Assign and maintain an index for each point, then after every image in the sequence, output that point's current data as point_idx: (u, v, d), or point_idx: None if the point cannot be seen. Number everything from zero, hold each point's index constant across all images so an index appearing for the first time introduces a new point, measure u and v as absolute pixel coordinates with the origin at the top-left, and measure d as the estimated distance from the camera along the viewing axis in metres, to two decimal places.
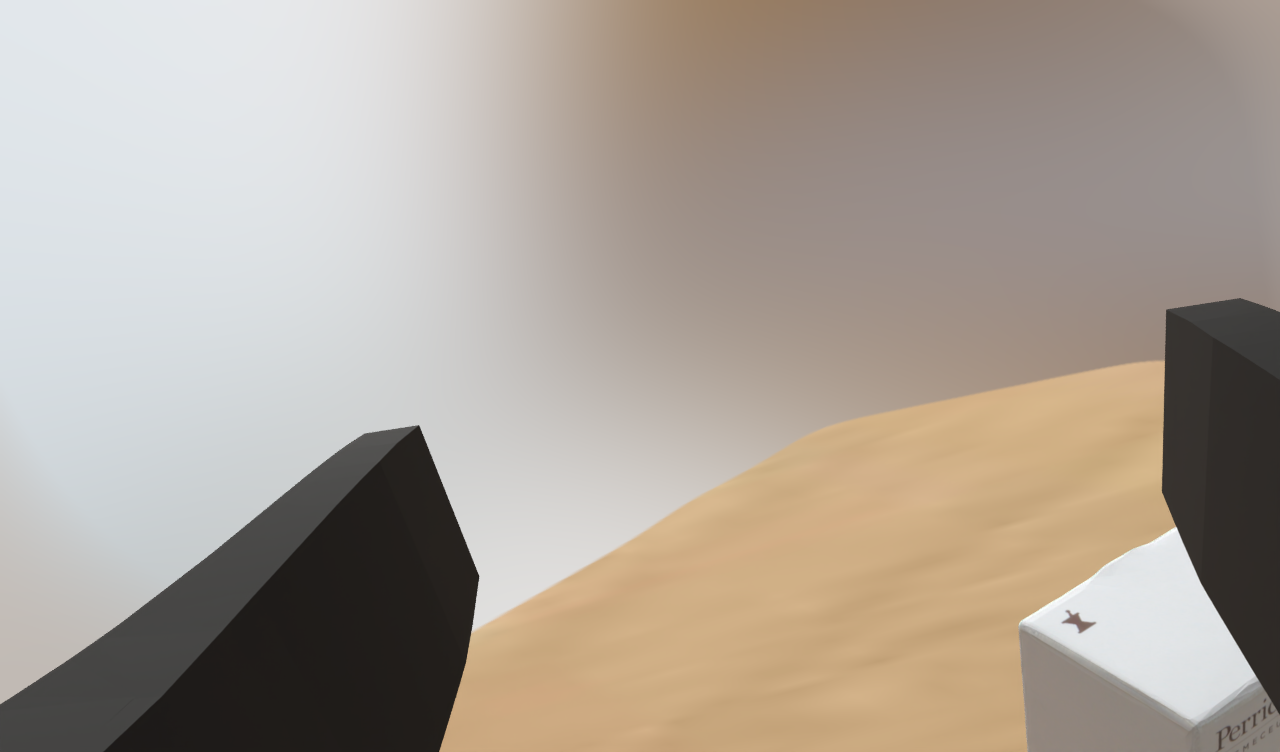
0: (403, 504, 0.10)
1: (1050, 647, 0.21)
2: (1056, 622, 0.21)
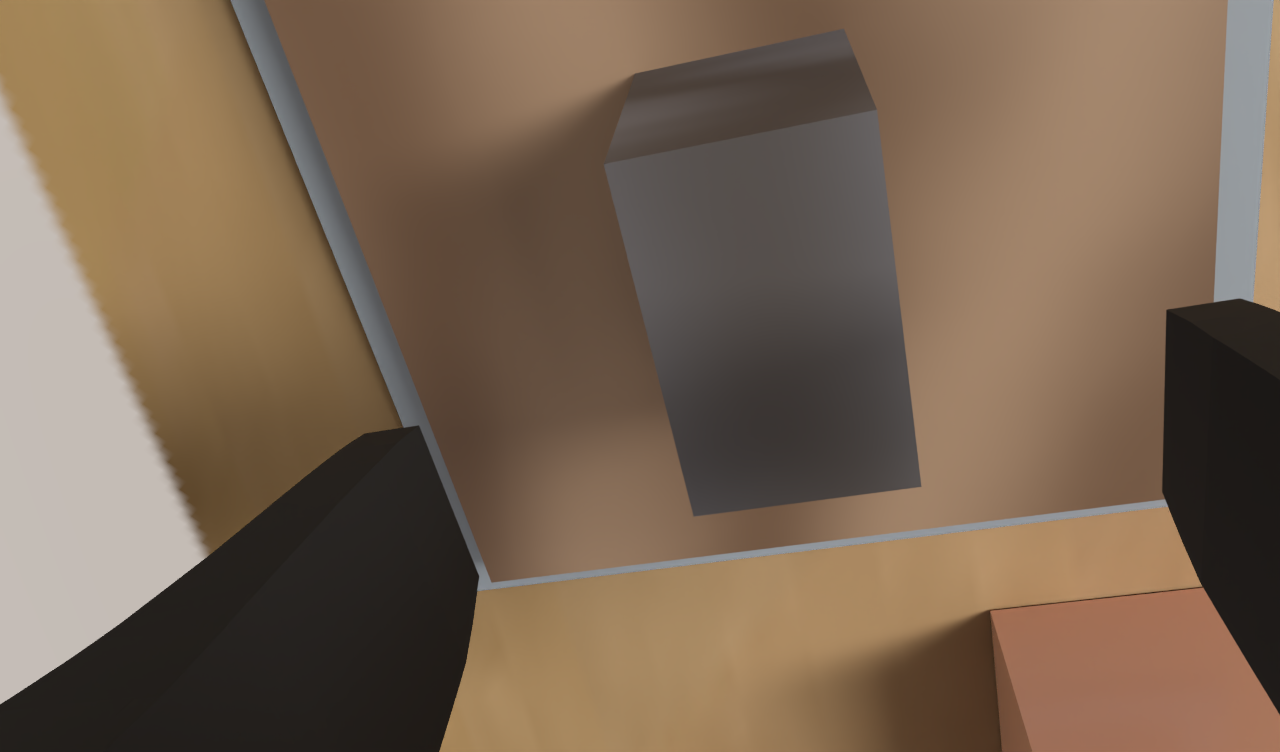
0: (403, 504, 0.10)
1: None
2: None
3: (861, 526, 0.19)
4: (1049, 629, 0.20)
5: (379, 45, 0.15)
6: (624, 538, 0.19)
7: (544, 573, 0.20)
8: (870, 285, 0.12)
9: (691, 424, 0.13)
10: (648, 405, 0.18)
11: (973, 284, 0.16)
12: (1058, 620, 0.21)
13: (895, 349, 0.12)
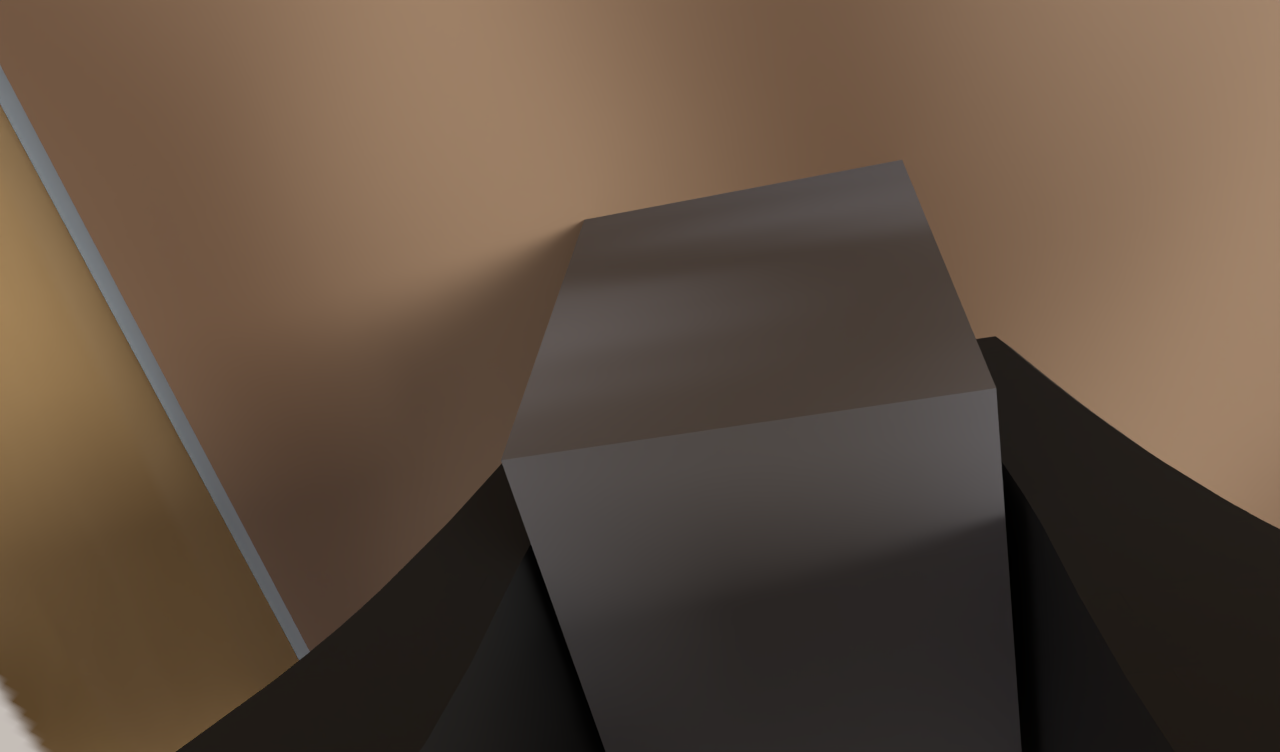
0: None
1: None
2: None
3: None
4: None
5: (202, 176, 0.10)
6: None
7: None
8: (966, 647, 0.07)
9: None
10: None
11: None
12: None
13: (1004, 737, 0.07)
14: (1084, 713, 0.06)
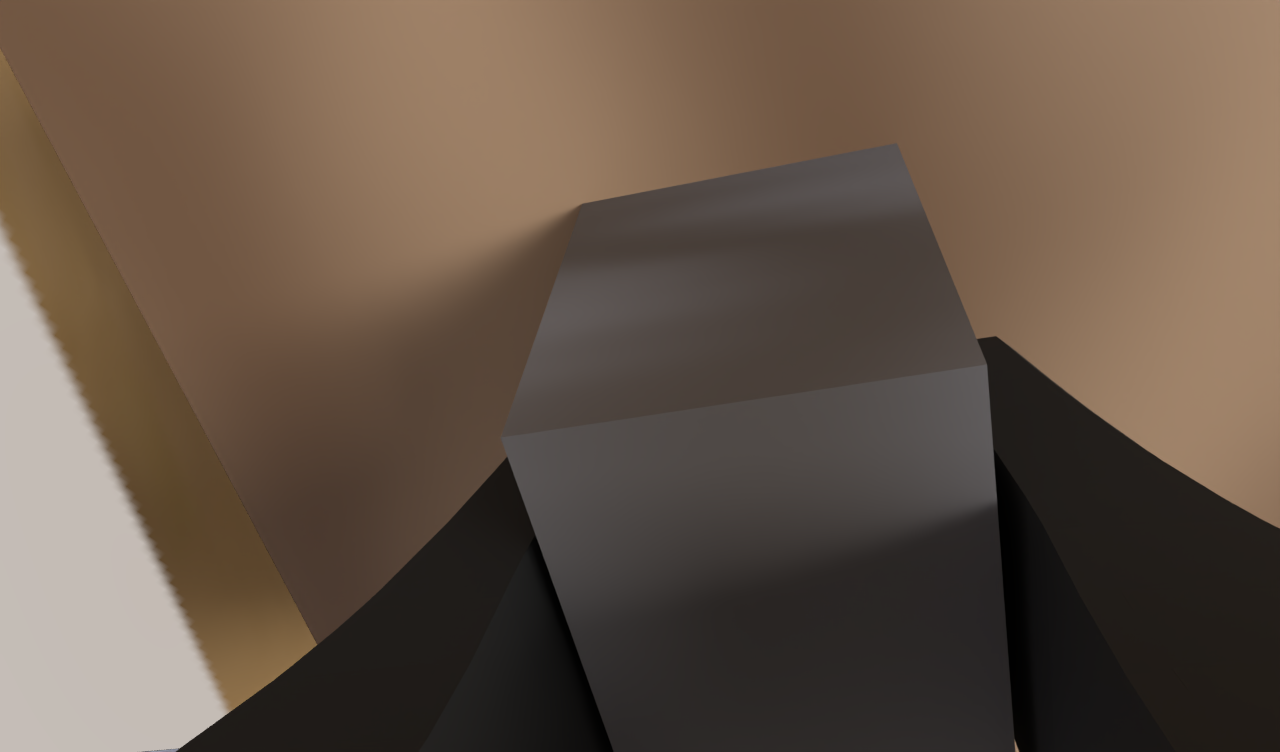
0: None
1: None
2: None
3: None
4: None
5: (202, 161, 0.10)
6: None
7: None
8: (958, 622, 0.07)
9: None
10: None
11: None
12: None
13: (995, 710, 0.07)
14: (1084, 713, 0.06)
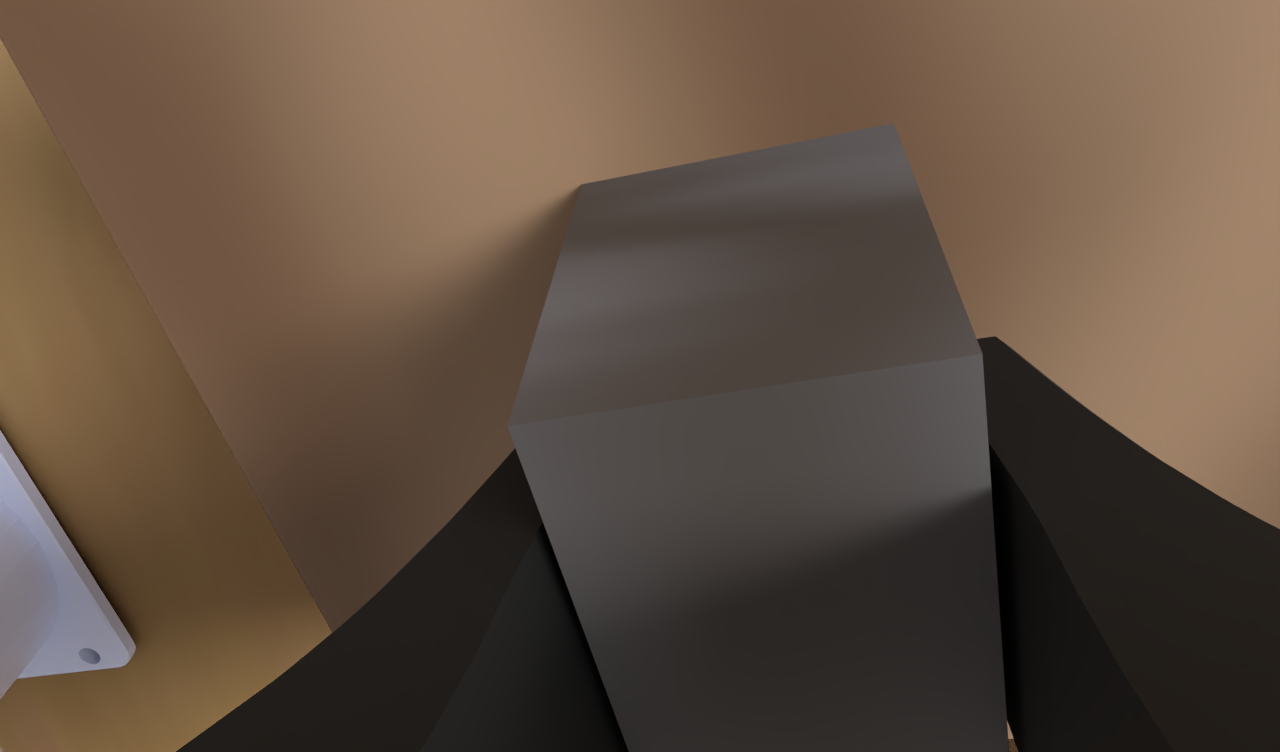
0: None
1: None
2: None
3: None
4: None
5: (202, 143, 0.10)
6: None
7: None
8: (952, 599, 0.07)
9: None
10: None
11: None
12: None
13: (988, 682, 0.08)
14: (1084, 713, 0.06)
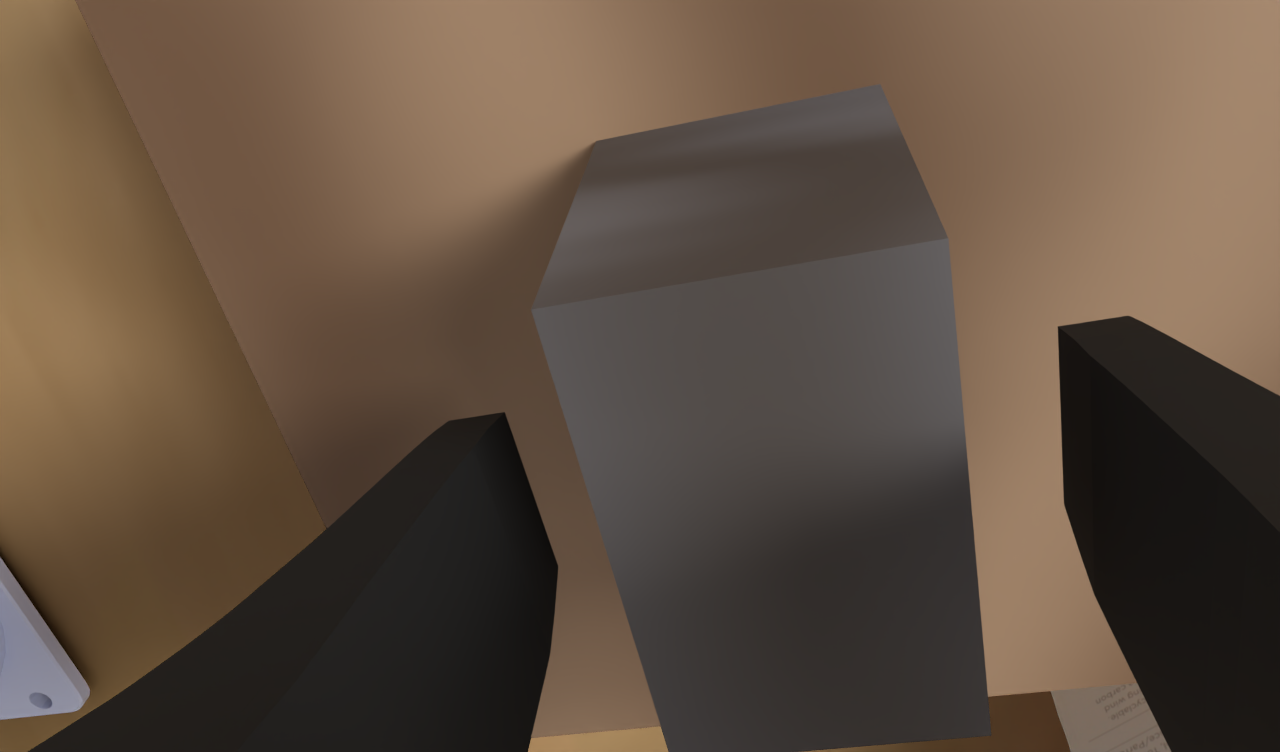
0: (494, 491, 0.09)
1: None
2: None
3: None
4: None
5: (253, 102, 0.11)
6: (593, 701, 0.15)
7: None
8: (928, 481, 0.08)
9: (667, 652, 0.09)
10: None
11: (1044, 412, 0.12)
12: None
13: (962, 565, 0.08)
14: None
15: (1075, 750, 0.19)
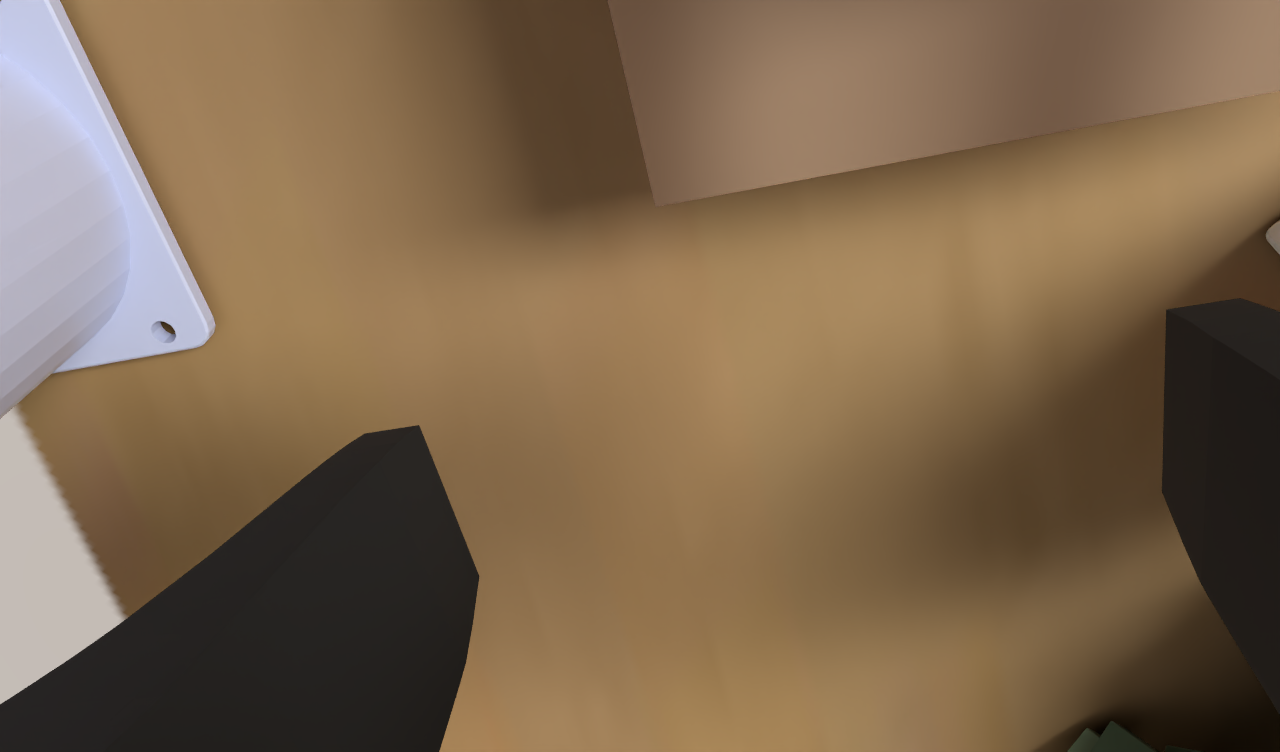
0: (403, 504, 0.10)
1: None
2: None
3: (1196, 90, 0.13)
4: None
5: None
6: (850, 124, 0.14)
7: (729, 191, 0.14)
8: None
9: None
10: None
11: None
12: None
13: None
14: None
15: None
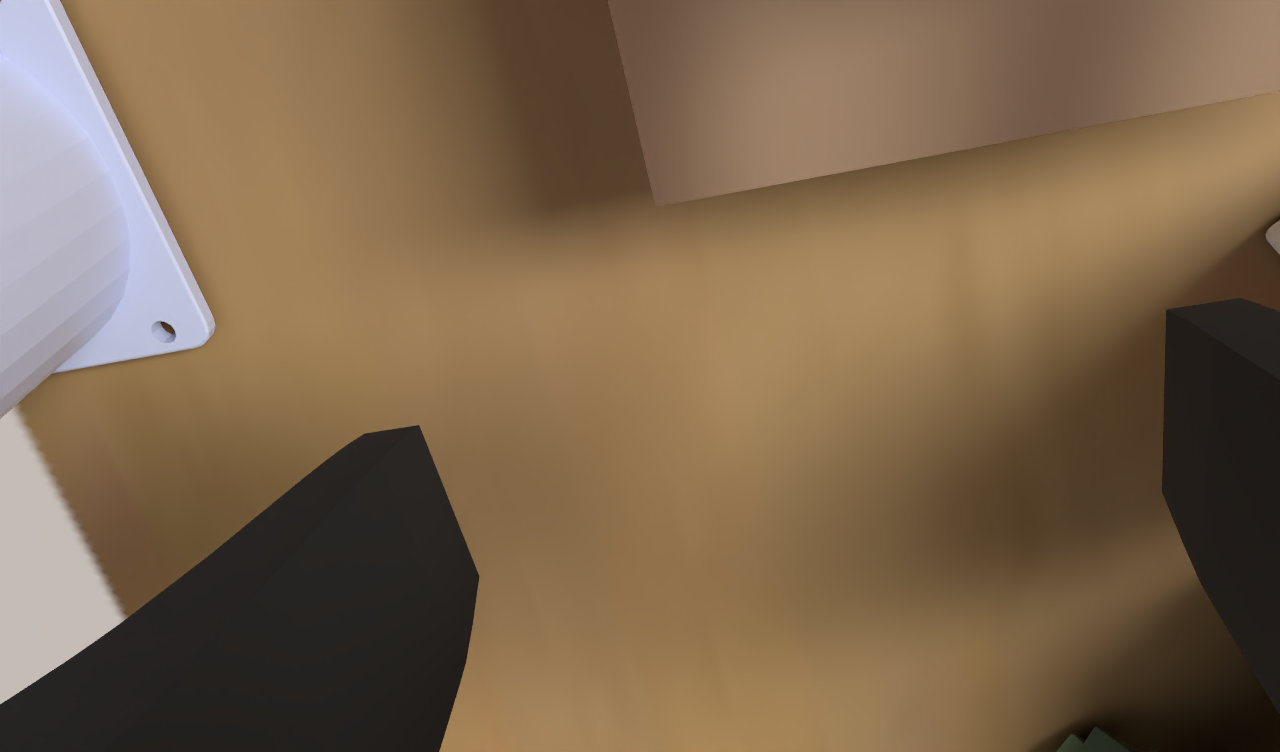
0: (403, 504, 0.10)
1: None
2: None
3: (1196, 90, 0.13)
4: None
5: None
6: (850, 124, 0.14)
7: (729, 191, 0.14)
8: None
9: None
10: None
11: None
12: None
13: None
14: None
15: None
